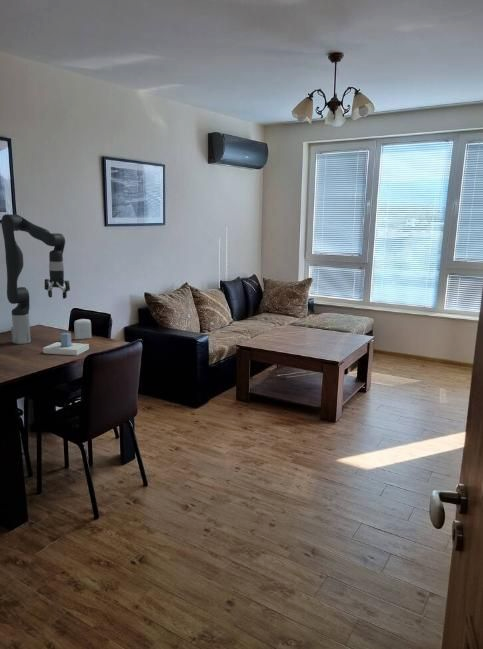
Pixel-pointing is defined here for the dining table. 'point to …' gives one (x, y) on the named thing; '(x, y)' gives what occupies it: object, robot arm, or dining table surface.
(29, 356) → the dining table surface
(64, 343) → the peg
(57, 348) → the socket
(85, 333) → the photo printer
